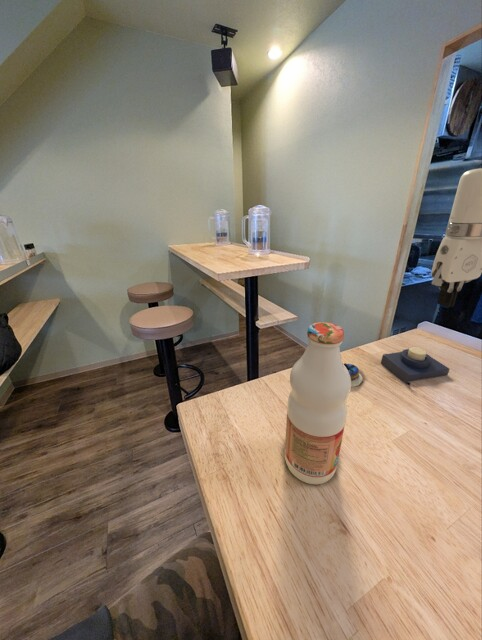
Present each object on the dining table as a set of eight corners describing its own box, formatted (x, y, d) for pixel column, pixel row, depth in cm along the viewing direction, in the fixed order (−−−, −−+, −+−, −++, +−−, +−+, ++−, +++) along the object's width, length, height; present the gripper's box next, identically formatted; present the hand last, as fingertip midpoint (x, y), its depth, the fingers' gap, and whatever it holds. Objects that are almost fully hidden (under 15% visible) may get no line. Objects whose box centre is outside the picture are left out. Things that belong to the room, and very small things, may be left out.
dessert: (347, 364, 73) (358, 356, 68) (360, 385, 70) (372, 379, 65) (324, 372, 71) (333, 365, 66) (336, 395, 68) (347, 389, 63)
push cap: (416, 352, 71) (418, 345, 70) (428, 360, 67) (430, 353, 66) (403, 354, 70) (405, 347, 69) (415, 362, 67) (417, 355, 66)
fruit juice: (277, 445, 51) (282, 319, 39) (320, 435, 52) (337, 312, 40) (296, 492, 42) (310, 351, 30) (346, 479, 44) (378, 340, 32)
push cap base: (416, 358, 76) (420, 343, 74) (446, 378, 67) (452, 363, 65) (380, 363, 74) (383, 349, 72) (406, 385, 65) (411, 369, 63)
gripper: (454, 235, 53) (432, 314, 61) (512, 229, 55) (484, 306, 63) (424, 232, 60) (408, 304, 67) (477, 226, 62) (455, 296, 69)
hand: (444, 305), depth 65 cm, fingers closed
